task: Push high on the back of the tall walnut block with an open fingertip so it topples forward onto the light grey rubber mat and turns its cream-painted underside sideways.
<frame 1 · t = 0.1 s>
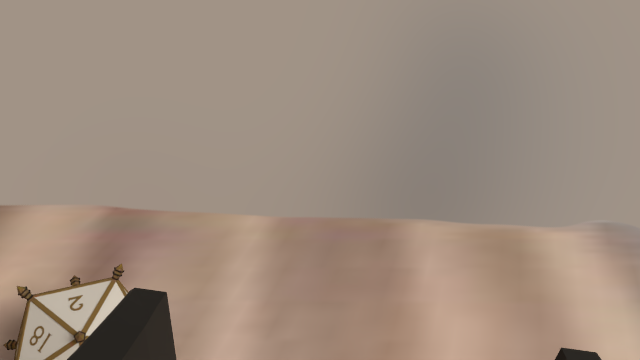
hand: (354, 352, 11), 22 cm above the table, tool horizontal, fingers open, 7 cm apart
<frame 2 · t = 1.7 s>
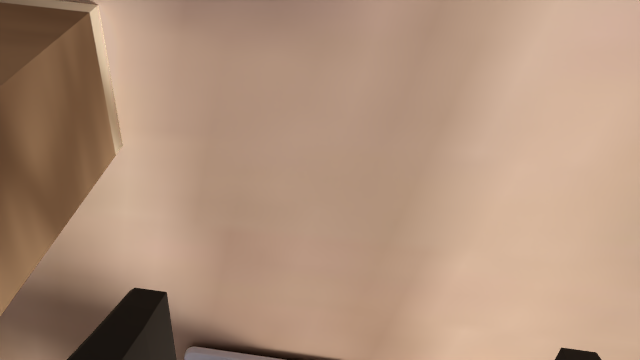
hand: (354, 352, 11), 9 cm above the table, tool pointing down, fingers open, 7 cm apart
walnut block: (36, 72, 18), on the table
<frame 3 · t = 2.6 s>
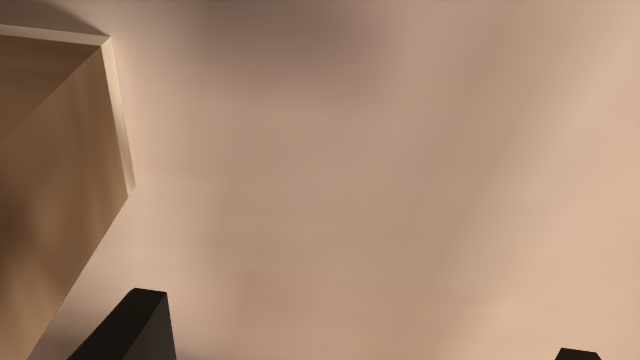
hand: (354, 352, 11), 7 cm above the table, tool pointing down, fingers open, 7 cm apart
walnut block: (41, 107, 17), on the table
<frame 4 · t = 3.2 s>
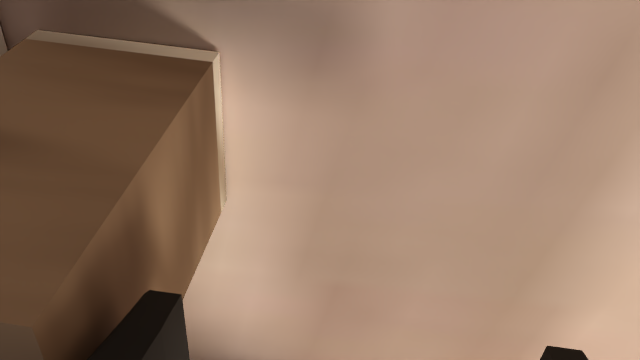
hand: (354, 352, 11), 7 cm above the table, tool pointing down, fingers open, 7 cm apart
walnut block: (139, 121, 17), on the table, touching gripper
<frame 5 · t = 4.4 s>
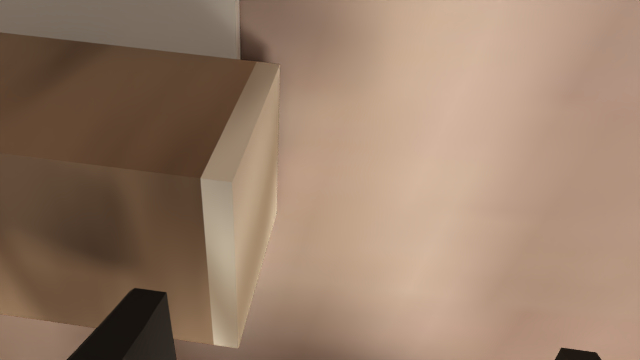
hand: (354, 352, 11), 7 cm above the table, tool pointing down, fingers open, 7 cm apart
walnut block: (259, 201, 14), point 3 cm above the table, tilted 90°, touching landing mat
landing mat: (74, 112, 17), on the table
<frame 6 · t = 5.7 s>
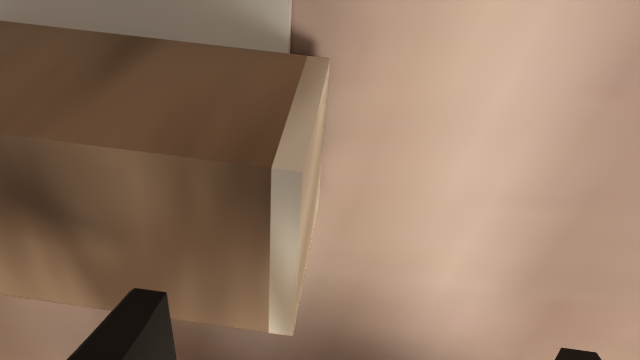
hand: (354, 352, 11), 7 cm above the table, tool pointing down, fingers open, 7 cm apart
walnut block: (312, 192, 14), point 3 cm above the table, tilted 90°, touching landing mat
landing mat: (121, 106, 17), on the table
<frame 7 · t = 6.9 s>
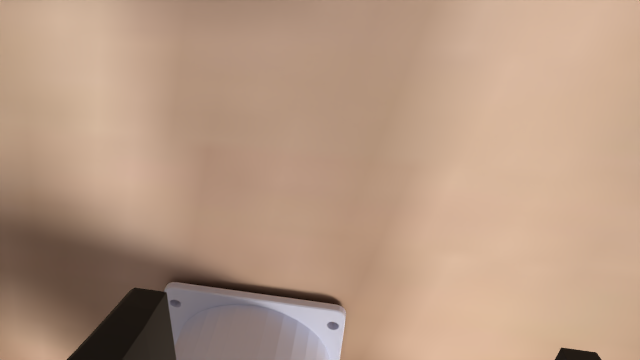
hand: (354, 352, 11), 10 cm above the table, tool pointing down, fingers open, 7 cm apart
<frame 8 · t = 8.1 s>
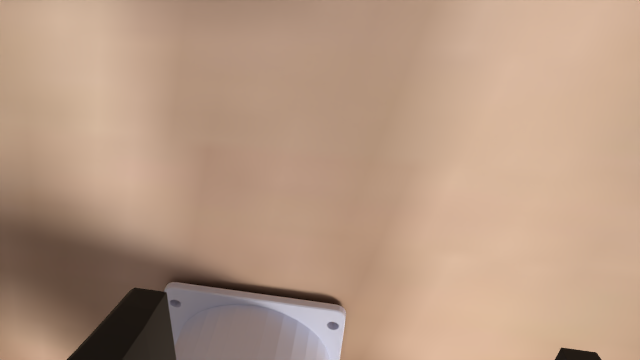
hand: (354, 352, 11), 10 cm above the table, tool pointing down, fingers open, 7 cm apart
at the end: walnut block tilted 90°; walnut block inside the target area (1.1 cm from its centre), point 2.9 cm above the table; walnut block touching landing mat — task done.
